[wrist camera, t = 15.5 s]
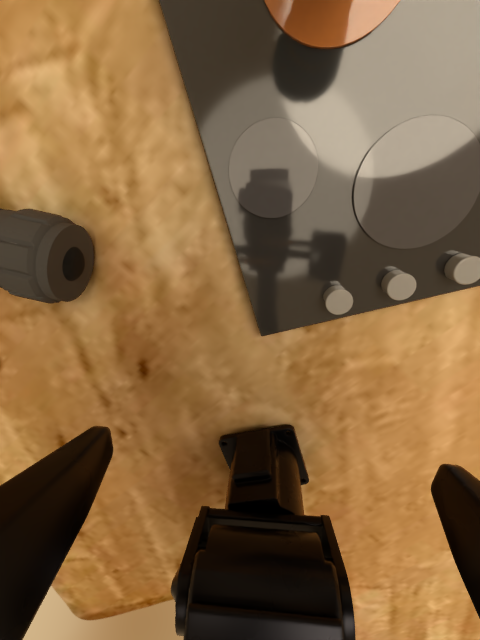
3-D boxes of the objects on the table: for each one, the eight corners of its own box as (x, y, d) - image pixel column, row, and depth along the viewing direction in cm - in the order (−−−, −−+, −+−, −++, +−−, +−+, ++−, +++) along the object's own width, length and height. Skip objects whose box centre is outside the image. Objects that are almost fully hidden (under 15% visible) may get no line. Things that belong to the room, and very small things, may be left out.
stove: (487, 275, 18) (515, 285, 16) (261, 329, 21) (260, 343, 19) (492, -266, 11) (544, -373, 9) (141, -70, 13) (118, -117, 11)
